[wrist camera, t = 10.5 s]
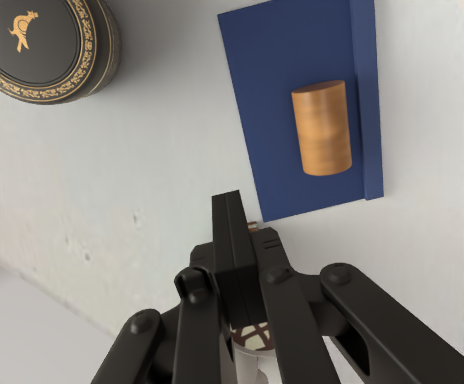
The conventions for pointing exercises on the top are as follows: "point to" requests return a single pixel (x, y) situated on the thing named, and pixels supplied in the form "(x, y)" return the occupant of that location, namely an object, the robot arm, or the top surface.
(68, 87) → the jar
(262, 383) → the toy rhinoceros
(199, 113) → the top surface
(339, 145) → the roller
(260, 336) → the food container
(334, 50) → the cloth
